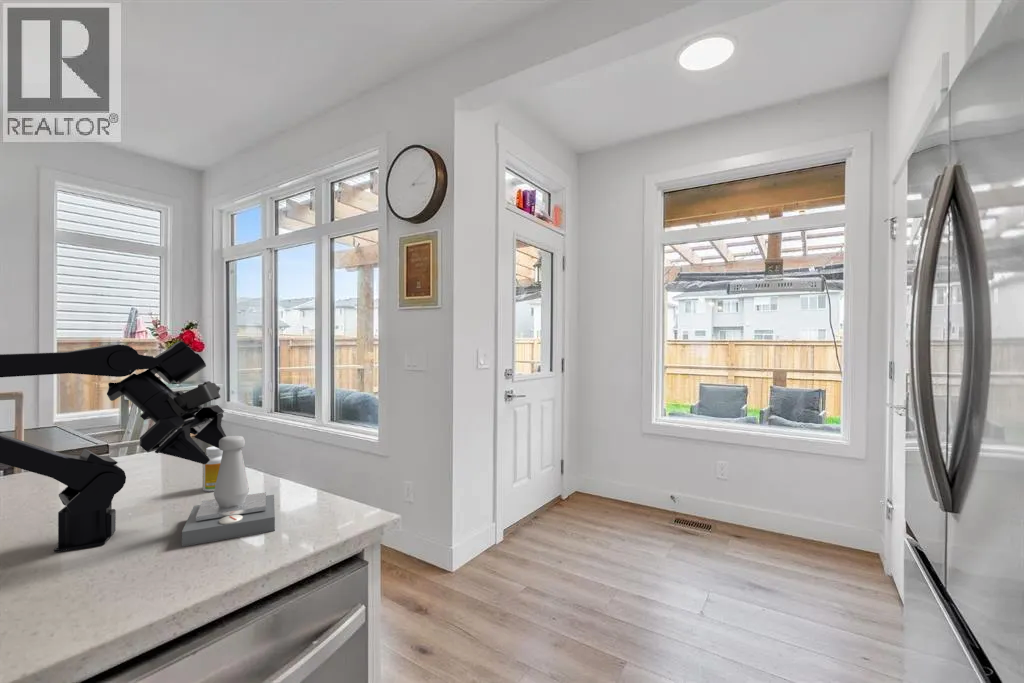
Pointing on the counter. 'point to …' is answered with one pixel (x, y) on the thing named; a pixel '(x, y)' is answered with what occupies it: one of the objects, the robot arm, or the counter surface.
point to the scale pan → (212, 509)
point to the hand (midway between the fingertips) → (219, 456)
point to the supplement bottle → (211, 468)
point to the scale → (228, 525)
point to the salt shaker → (231, 473)
